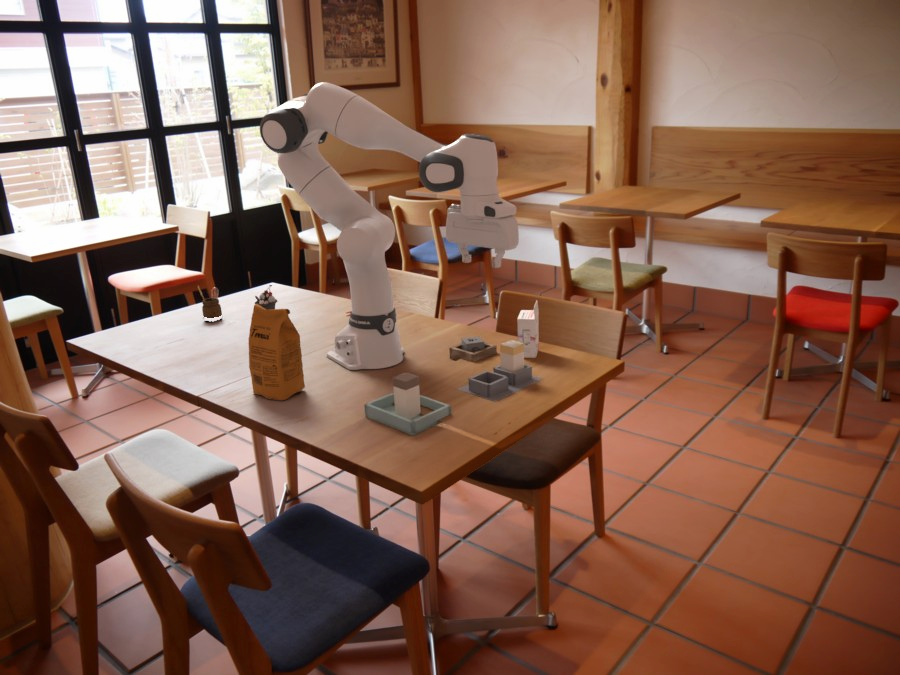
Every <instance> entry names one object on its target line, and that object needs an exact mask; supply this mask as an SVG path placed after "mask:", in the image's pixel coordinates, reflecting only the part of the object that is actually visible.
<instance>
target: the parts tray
mask: <svg viewBox="0 0 900 675" xmlns="http://www.w3.org/2000/svg"><path fill="white" fill-rule="evenodd" d="M420 406H423V407H424V408H427V409H431V410H434V411H431V412H429V413H426V414H421V413H419V414H420V415H418V416H415V417H413V418H411V419H407V418H404V417H402V416H399V415H397V414H395V402H394V391H393V392H392V393H389V394H386V395H384V396H381V397H379V398H377V399H373V400H372V401H369V402H366V403H365V404H364V413H365V414H364V416H365V417H366V418H367V419H371V420H374V421H376V422H378V423H380V424H383V425H385V426H387V427H391V428H392V429H395V430H398V431H400V432H402V433H405V434H408V435H410V436H412V437H413V436H416V435H419V434H420V433H422V432H425V431H426V430H428V429H430V428H431V429H432V428H433V427H435V426H437V425H439V424H441V423H443V422H442V421H440V420H441V419H443V418H445V417H448V416H450V415H452V406H451V404H448V403H445V402H441V401H439V400H436V399H434V398H430V397H428V396H425V395H422V394H420Z"/></svg>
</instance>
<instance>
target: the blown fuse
mask: <svg viewBox="0 0 900 675" xmlns="http://www.w3.org/2000/svg"><path fill="white" fill-rule="evenodd" d="M391 379H392V386H393V387H392V388H393V392H394V404H395V414H397V415H399V416H402V417H404V418H407V419H411V418H413V417H415V416H418V415H420V414H421V413H422V412H421V405H420V395H421V394H420V376H419V375H417V374H413V373H409V372H406V371H405V372H403V373H401V374H398V375H395V376H393V377H392V378H391Z"/></svg>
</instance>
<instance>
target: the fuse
mask: <svg viewBox="0 0 900 675" xmlns="http://www.w3.org/2000/svg"><path fill="white" fill-rule="evenodd" d="M499 344H500V345H499V346H500V348H499V349H500V350H499V351H500V364H501V369H503V370H507V371H510V372H517V371H519V370H521V369H523V368H524V364H525V357H524V343H521V342H518V340H512V339H511V340H508V341H505V342H503V343H499Z"/></svg>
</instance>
